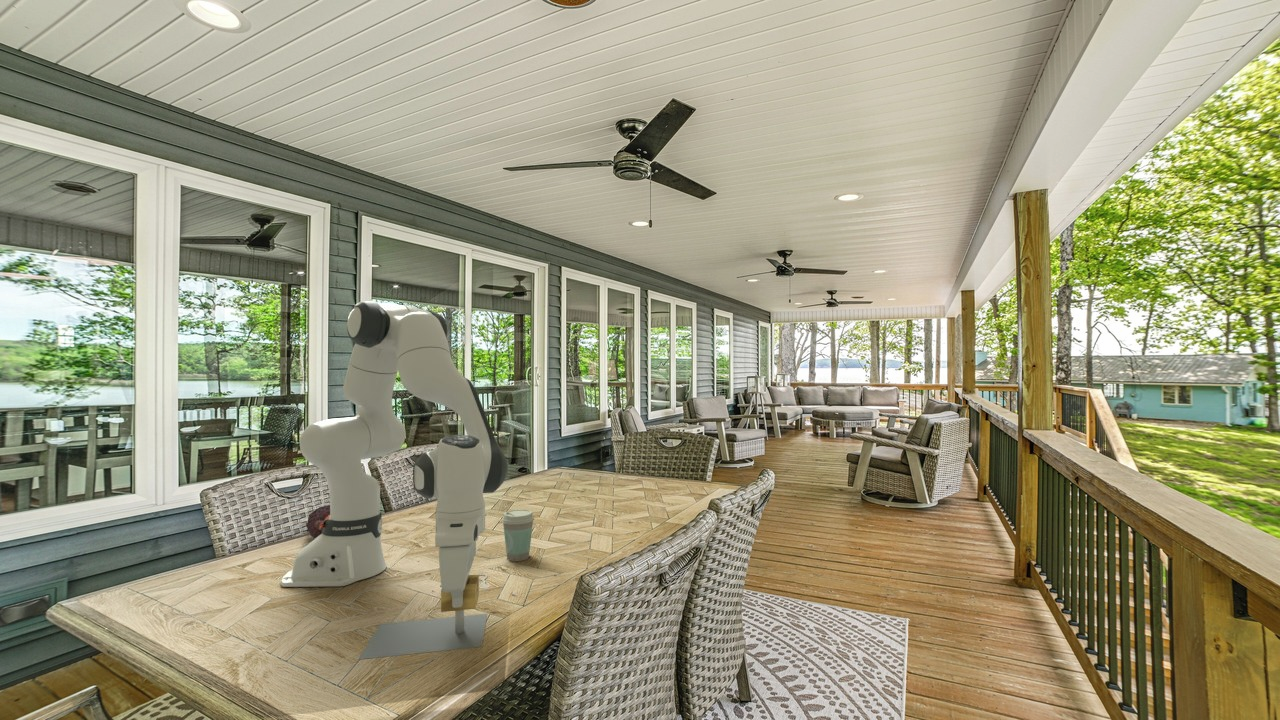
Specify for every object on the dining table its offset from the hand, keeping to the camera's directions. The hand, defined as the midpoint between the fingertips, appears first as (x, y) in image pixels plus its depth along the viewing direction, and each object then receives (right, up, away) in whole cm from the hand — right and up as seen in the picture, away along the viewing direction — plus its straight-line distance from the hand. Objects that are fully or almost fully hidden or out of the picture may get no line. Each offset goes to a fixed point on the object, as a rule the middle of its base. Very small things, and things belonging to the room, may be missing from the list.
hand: (460, 597), depth 98 cm
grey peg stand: (-6, -8, -1) cm, 10 cm away
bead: (0, -1, 0) cm, 1 cm away
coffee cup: (0, -9, +44) cm, 45 cm away
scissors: (-2, -9, +23) cm, 25 cm away
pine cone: (-62, -10, +61) cm, 88 cm away
